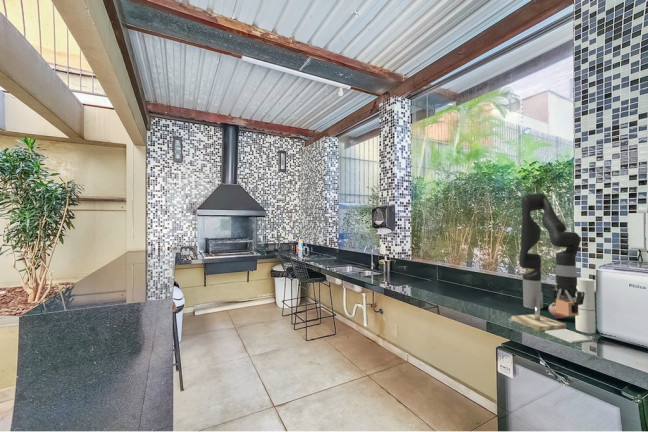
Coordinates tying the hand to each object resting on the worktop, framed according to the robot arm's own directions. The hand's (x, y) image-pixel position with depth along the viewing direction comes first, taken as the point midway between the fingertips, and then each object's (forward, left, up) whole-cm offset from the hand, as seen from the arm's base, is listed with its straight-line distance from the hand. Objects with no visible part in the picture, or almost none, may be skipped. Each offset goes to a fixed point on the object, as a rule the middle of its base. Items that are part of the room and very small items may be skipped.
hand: (567, 310), depth 130 cm
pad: (0, 0, -12) cm, 12 cm away
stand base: (-1, -16, -12) cm, 20 cm away
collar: (0, 0, -1) cm, 1 cm away
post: (-1, -16, -10) cm, 19 cm away
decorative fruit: (-19, -19, -12) cm, 29 cm away
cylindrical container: (-16, -4, -12) cm, 20 cm away
